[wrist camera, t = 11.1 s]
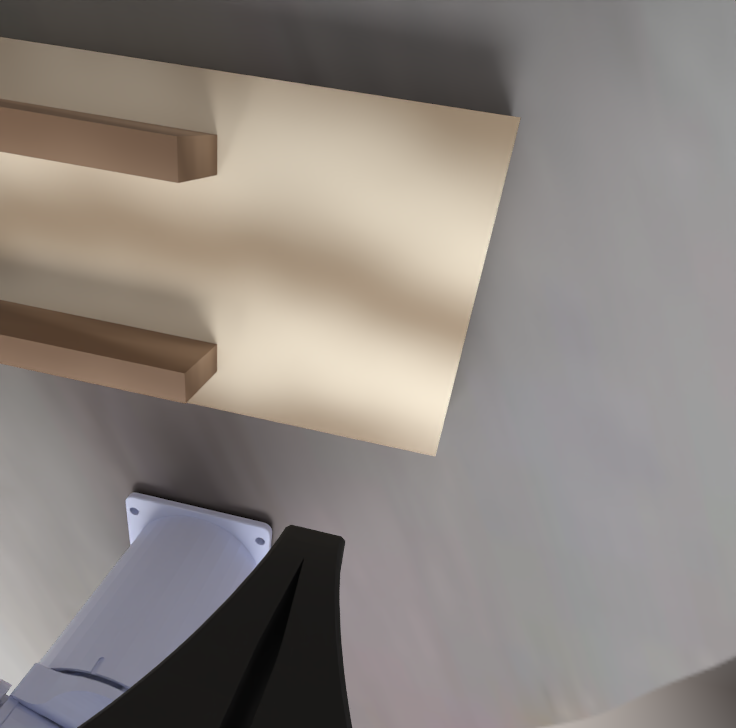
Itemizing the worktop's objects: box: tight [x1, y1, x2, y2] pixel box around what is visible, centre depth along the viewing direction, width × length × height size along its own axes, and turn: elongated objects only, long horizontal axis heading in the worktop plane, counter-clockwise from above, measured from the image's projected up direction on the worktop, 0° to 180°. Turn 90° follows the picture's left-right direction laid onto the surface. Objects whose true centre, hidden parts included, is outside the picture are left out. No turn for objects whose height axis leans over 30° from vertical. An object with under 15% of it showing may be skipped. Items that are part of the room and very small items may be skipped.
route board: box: [0, 37, 520, 456], centre depth 18 cm, size 12×32×5 cm, turn 82°
